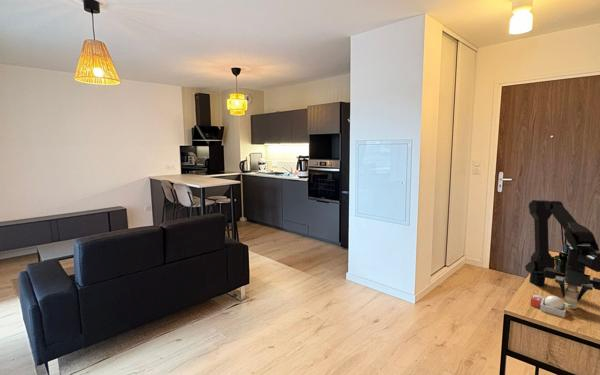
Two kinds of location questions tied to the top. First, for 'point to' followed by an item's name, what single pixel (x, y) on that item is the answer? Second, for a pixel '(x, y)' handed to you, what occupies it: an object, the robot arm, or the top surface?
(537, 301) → the red die
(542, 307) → the game board
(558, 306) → the white ball
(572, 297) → the pawn
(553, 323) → the top surface
